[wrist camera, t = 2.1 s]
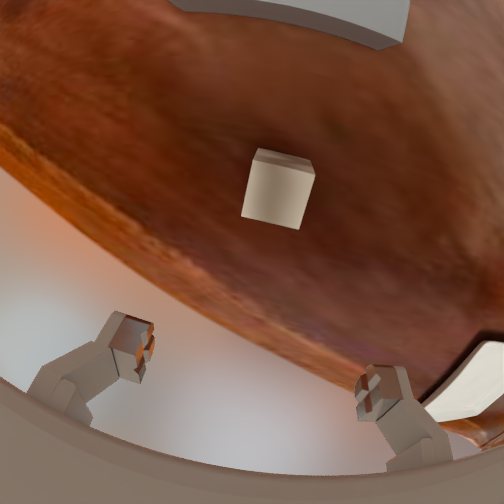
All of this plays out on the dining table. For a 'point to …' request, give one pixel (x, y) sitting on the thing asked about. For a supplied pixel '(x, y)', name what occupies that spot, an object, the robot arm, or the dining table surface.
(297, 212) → the cream cube
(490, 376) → the square plate
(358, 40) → the pedestal
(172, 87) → the dining table surface
